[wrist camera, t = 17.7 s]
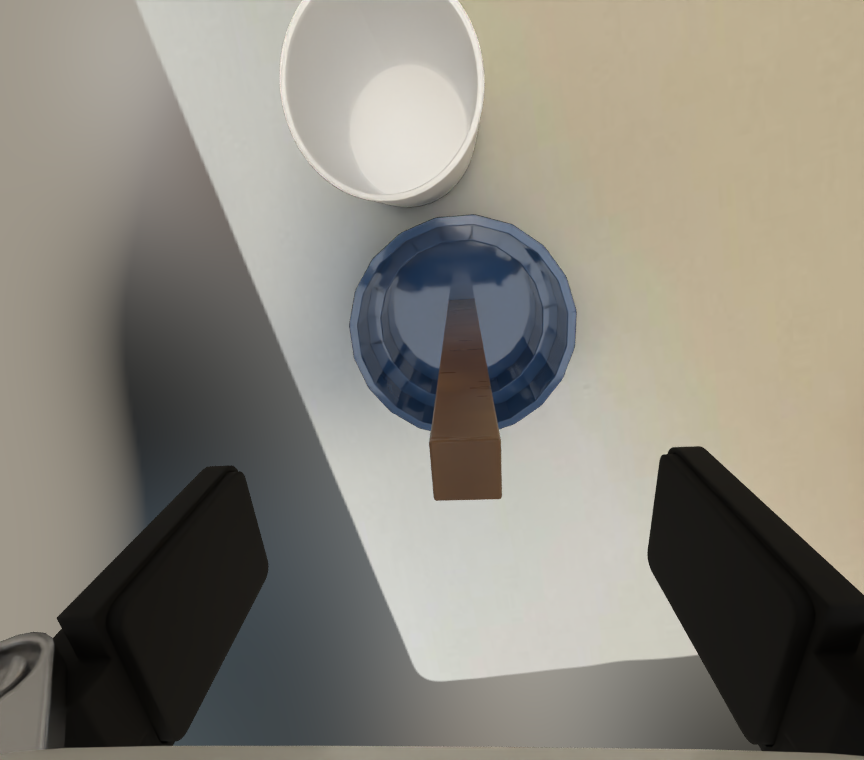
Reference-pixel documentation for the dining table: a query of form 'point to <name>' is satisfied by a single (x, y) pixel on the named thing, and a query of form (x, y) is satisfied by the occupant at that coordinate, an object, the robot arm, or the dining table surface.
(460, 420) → the stick
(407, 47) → the cup
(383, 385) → the bowl
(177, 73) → the dining table surface
